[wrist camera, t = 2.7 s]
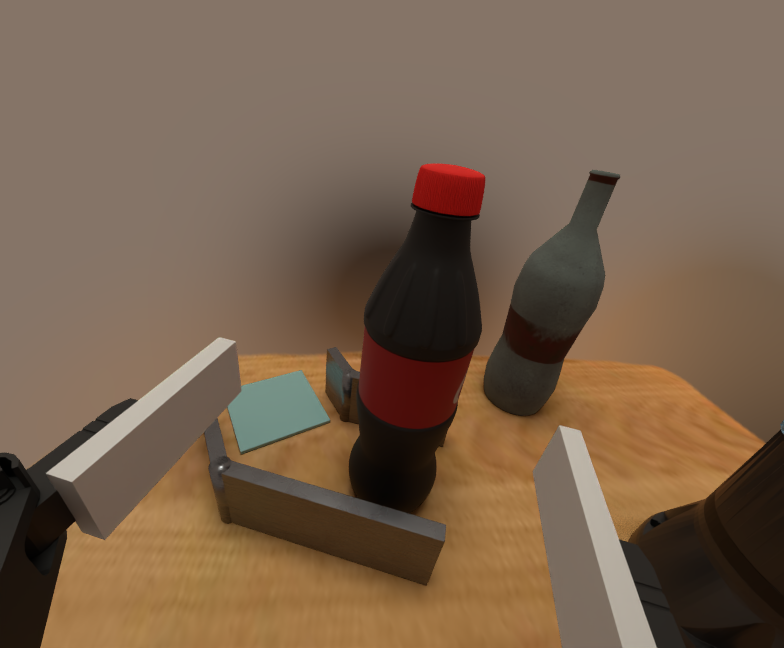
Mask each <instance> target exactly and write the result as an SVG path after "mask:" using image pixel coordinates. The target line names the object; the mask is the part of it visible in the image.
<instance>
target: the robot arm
mask: <svg viewBox="0 0 784 648" xmlns="http://www.w3.org/2000/svg"><path fill="white" fill-rule="evenodd" d="M241 391H242V390H241V381H240V373H239V364H238V356H237V347H236V342H235V341H232V340H228V339H224V338H220V337H219V338H217V340H215V341H214V342H213V343H211V344H210V345H209V346H207V347H206V348H205V349H203V350H202V351H201V352H200V353H198V354H197V355H196V356H195V357H193V358H192V359H191V360H189V361H188V362H187V363H186V364H184V365H183V366H182V367H181V368H180V369H178V370H177V371H175V372H174V373H173V374H172V375H170V376H169V377H168V378H167V379H165V380H164V381H163V382H162V383H160V384H159V385H158V386H156V387H155V388H154V389H152V390H151V391H150V392H149V393H147V394H146V395H145V396H144V397H142V398H141V399H140V400H135V399H131V398H130V399H128V400H126V401H123V402H121V403H119V404H117V405H115V406H113V407H111V408H110V409H108V410H107V411H105V412H104V413H103V414H101V415H100V416H99V417H97V418H96V420H95V421H92V422H91V423H89V424H88V425H87V426H85V427H84V428H83V430H82V431H79V432H77V433H76V434H75V435H73V436H72V437H70V438H69V439H68V440H66V441H65V442H64V443H62V444H61V445H60V446H58V447H57V448H56V449H54V450H53V451H52V452H50V453H49V454H48V455H46V456H45V457H44V458H42V459H41V460H40V461H38V462H37V463H36V464H34V465H33V466H32V467H30V468H29V469H27V470H26V469H25V468H24V466H23V465H22V463H21V462H20V460H19V459H18V458H17V457H16V456H15V455H14V454H9V453H0V648H40V647H41V643H42V638H43V634H44V630H45V626H46V622H47V618H48V614H49V610H50V606H51V602H52V597H53V593H54V589H55V585H56V581H57V577H58V573H59V569H60V565H61V561H62V557H63V552H64V548H65V544H66V540H67V531H66V529H67V528H68V527H69V526H70V525H72V524H73V523H74V522H75V521H76V523H77V525H78V526H79V528H80V529H81V531H82V532H84V533H86V534H89V535H92V536H95V537H98V538H101V539H104V540H105V539H106V538H107V537H108V536H109V535H110V534H111V533H112V532H113V531H114V529H115V528H116V527H117V526H118V525H119V524H120V523H121V522H122V521H123V520H124V519H125V518H126V516H127V515H128V514H129V513H130V512H131V511H132V510H133V509H134V508H135V507H136V506H137V504H138V503H139V502H140V501H141V500H142V499H143V498H144V497H145V496H146V495H147V494H148V492H149V491H150V490H151V489H152V488H153V487H154V486H155V485H156V484H157V483H158V482H159V480H160V479H161V478H162V477H163V476H164V475H165V474H166V473H167V472H168V471H169V470H170V469H171V467H172V466H173V465H174V464H175V463H176V462H177V461H178V460H179V459H180V458H181V457H182V455H183V454H184V453H185V452H186V451H187V450H188V449H189V448H190V447H191V446H192V445H193V443H194V442H195V441H196V440H197V439H198V438H199V437H200V436H201V435H202V434H203V433H204V431H205V430H206V429H207V428H208V427H209V426H210V425H211V424H212V423H213V422H214V421H215V419H216V418H217V417H218V416H219V415H220V414H221V413H222V412H223V411H224V410H225V409H226V408H227V406H228V405H229V404H230V403H231V402H232V401H233V400H234V399H235V398H236V397H237V396H238V394H239V393H240V392H241ZM533 476H534V482H535V488H536V494H537V500H538V506H539V512H540V518H541V524H542V530H543V536H544V542H545V548H546V554H547V560H548V566H549V572H550V578H551V584H552V590H553V596H554V602H555V608H556V614H557V620H558V626H559V632H560V638H561V644H562V648H784V420H783V422H782V423H781V430H780V431H779V432H778V433H777V434H776V435H774V436H773V437H772V438H771V439H770V440H769V441H768V442H767V443H766V444H765V445H764V446H763V447H762V448H761V449H760V450H758V451H757V452H756V453H755V454H754V455H753V456H752V457H751V458H750V459H749V460H747V461H746V462H745V463H744V464H743V465H742V466H741V467H740V468H739V469H738V470H736V471H735V472H734V473H733V474H732V475H731V476H730V477H729V478H728V479H727V480H726V481H724V482H723V483H722V484H721V485H720V486H719V487H718V488H717V489H716V490H715V491H714V492H713V493H712V494H711V495H710V496H709V497H707V498H706V499H704V500H701V501H697V502H694V503H690V504H687V505H684V506H680V507H677V508H674V509H670V510H667V511H664V512H660V513H657V514H655V515H653V516H651V517H649V518H648V519H647V520H645V521H644V522H643V523H642V524H641V525H640V526H639V528H638V529H637V530H636V531H635V532H634V533H633V534H632V536H631V537H630V539H629V542H626V541H622V540H619V539H618V536H617V533H616V530H615V527H614V525H613V522H612V519H611V516H610V513H609V510H608V507H607V505H606V502H605V499H604V496H603V493H602V490H601V488H600V485H599V482H598V479H597V476H596V473H595V471H594V468H593V465H592V462H591V459H590V456H589V453H588V451H587V448H586V445H585V442H584V439H583V436H582V434H581V431H580V430H576V429H572V428H568V427H564V426H560V425H559V427H558V428H557V430H556V432H555V434H554V435H553V437H552V439H551V441H550V442H549V444H548V446H547V448H546V449H545V451H544V453H543V455H542V456H541V458H540V460H539V462H538V463H537V465H536V467H535V469H534V470H533Z"/></svg>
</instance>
